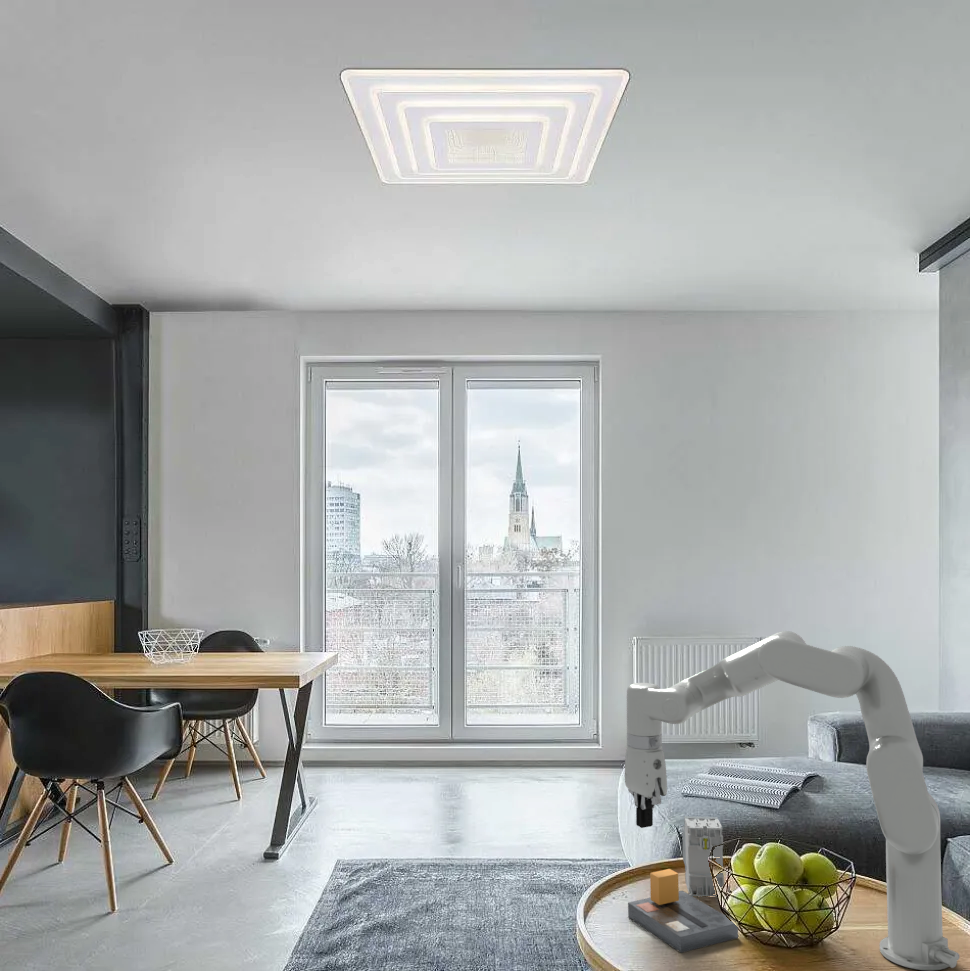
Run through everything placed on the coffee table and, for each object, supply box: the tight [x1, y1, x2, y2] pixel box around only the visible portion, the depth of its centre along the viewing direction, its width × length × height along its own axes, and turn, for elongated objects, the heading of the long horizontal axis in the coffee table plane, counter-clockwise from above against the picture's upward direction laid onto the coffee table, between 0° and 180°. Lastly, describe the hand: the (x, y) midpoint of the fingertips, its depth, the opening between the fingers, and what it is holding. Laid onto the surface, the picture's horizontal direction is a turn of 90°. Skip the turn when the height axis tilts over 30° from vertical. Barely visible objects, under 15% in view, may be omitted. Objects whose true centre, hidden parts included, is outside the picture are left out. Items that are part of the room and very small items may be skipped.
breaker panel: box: [627, 890, 739, 954], centre depth 190 cm, size 18×14×3 cm
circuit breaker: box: [681, 815, 725, 898], centre depth 213 cm, size 8×14×15 cm, turn 174°
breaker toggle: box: [649, 868, 680, 905], centre depth 196 cm, size 3×5×6 cm, turn 115°
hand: (644, 825), depth 202 cm, fingers closed
